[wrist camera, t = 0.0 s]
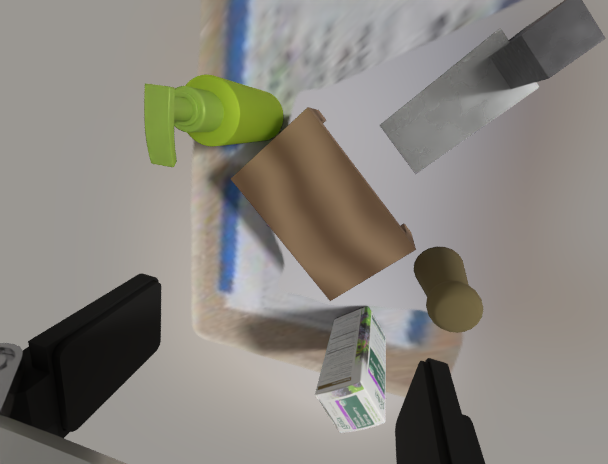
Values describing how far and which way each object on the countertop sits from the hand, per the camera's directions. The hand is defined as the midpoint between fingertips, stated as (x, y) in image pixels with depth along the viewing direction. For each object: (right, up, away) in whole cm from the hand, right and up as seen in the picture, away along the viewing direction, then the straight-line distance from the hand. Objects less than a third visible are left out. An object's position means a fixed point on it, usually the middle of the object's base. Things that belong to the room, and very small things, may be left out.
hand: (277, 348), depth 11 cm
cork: (+18, -1, +30) cm, 35 cm away
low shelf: (+4, +8, +30) cm, 31 cm away
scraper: (+18, +18, +23) cm, 35 cm away
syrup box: (+9, -10, +35) cm, 38 cm away
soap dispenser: (-4, +18, +29) cm, 35 cm away
